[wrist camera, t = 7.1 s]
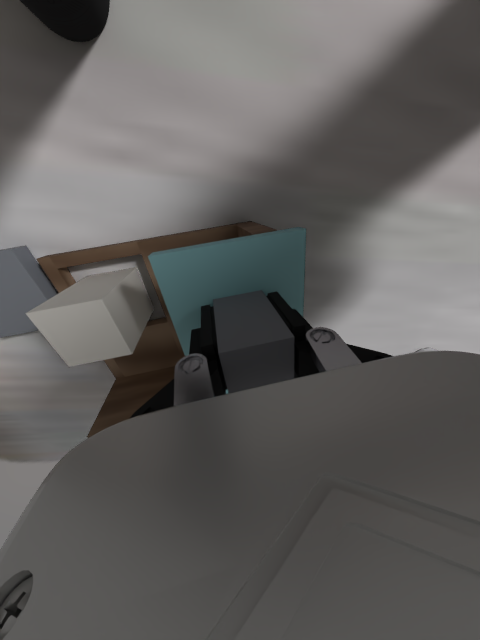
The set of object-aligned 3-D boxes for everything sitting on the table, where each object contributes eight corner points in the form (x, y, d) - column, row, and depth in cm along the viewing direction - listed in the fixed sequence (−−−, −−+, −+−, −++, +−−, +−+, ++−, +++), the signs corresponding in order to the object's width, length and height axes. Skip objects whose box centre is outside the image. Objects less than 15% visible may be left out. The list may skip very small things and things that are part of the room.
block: (87, 275, 18) (25, 313, 12) (136, 267, 19) (101, 299, 12) (110, 317, 21) (68, 367, 14) (154, 308, 21) (132, 354, 15)
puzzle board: (46, 255, 17) (-60, 289, 10) (250, 221, 18) (278, 230, 11) (123, 377, 25) (93, 442, 18) (262, 347, 26) (284, 397, 19)
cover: (152, 252, 11) (106, 294, 6) (298, 226, 11) (376, 244, 6) (207, 406, 18) (209, 487, 13) (296, 386, 18) (331, 455, 13)
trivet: (-52, 258, 16) (-75, 263, 15) (26, 245, 16) (11, 248, 15) (11, 329, 20) (-2, 338, 18) (74, 317, 20) (65, 325, 19)
